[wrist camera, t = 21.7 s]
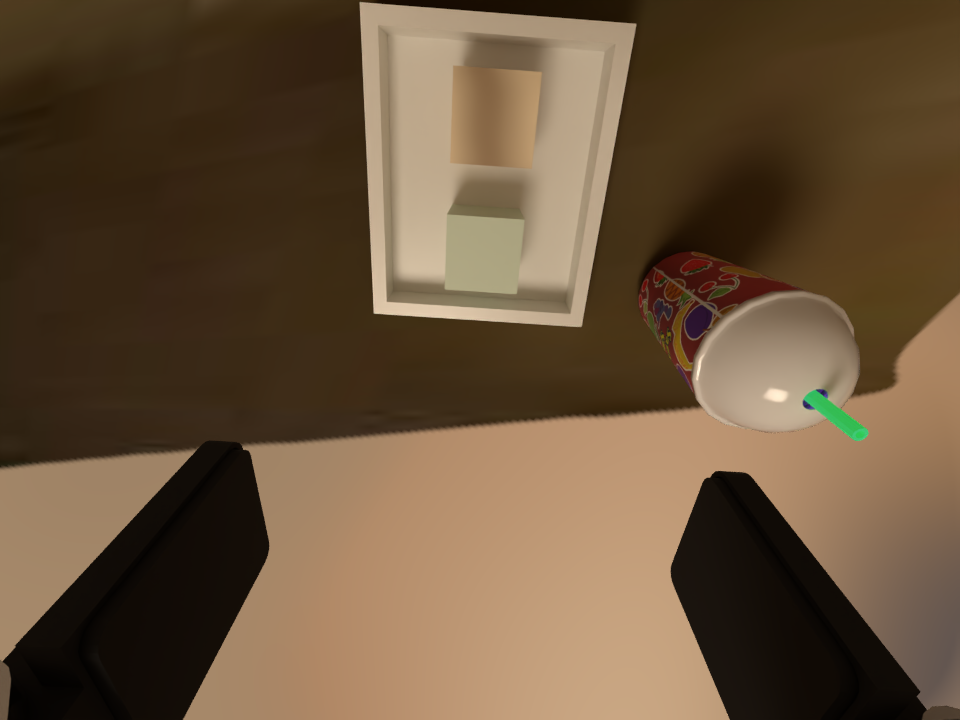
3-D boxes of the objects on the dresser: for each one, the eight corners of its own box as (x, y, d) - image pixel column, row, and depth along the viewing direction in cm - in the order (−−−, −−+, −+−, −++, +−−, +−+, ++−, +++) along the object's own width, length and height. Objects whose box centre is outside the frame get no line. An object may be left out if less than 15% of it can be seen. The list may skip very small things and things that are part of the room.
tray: (620, 36, 29) (636, 23, 26) (573, 311, 37) (581, 327, 34) (373, 17, 28) (359, 2, 25) (383, 298, 37) (373, 313, 34)
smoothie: (602, 305, 37) (713, 461, 19) (670, 216, 34) (880, 303, 16) (678, 351, 39) (845, 533, 21) (749, 271, 36) (1018, 405, 18)
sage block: (519, 208, 33) (524, 219, 28) (512, 274, 35) (516, 294, 31) (452, 203, 33) (447, 214, 28) (450, 270, 35) (444, 289, 30)
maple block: (533, 82, 29) (542, 72, 25) (525, 164, 31) (531, 168, 27) (458, 76, 29) (453, 65, 25) (455, 159, 31) (450, 163, 27)
